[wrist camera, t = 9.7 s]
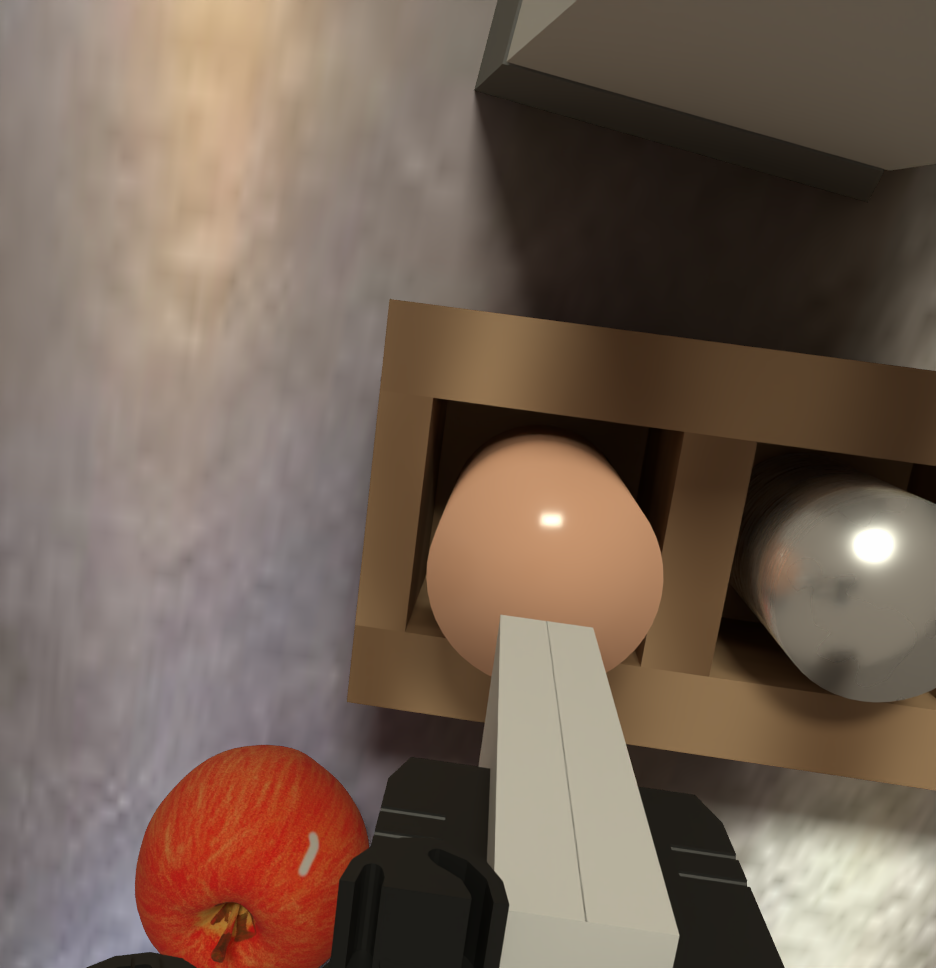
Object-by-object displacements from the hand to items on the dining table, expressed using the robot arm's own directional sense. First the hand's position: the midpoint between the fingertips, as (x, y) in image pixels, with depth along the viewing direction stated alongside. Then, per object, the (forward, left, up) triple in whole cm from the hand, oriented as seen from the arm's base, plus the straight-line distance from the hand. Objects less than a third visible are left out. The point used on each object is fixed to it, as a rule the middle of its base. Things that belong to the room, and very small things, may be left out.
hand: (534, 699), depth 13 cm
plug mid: (+9, 0, -15) cm, 18 cm away
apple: (-8, -14, -16) cm, 23 cm away
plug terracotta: (0, 0, -13) cm, 13 cm away
